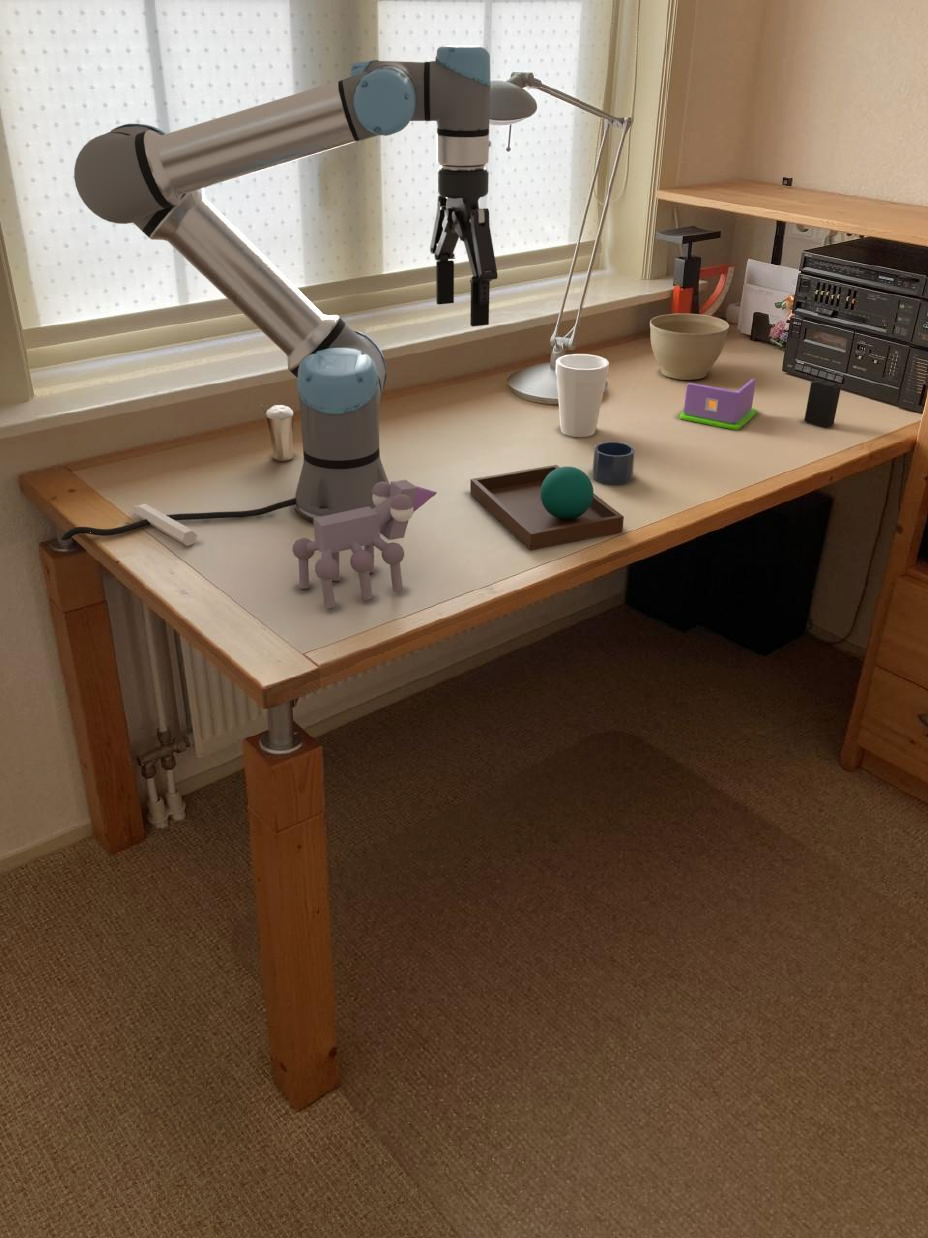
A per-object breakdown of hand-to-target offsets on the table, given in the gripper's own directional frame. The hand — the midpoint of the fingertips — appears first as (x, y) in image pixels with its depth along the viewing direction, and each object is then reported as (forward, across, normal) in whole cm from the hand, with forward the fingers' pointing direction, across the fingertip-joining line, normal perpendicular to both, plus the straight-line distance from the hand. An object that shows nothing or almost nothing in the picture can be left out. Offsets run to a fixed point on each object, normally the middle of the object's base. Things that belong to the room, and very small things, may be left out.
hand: (461, 313), depth 165 cm
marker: (+27, -2, +50) cm, 57 cm away
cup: (+27, -11, -23) cm, 37 cm away
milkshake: (+27, +18, +26) cm, 42 cm away
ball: (+22, -23, -8) cm, 33 cm away
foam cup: (+27, +10, -28) cm, 40 cm away
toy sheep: (+27, -30, +26) cm, 48 cm away
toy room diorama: (+27, +7, -57) cm, 63 cm away
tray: (+27, -19, -6) cm, 33 cm away
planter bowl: (+27, +31, -65) cm, 77 cm away
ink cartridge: (+27, -4, -72) cm, 77 cm away
